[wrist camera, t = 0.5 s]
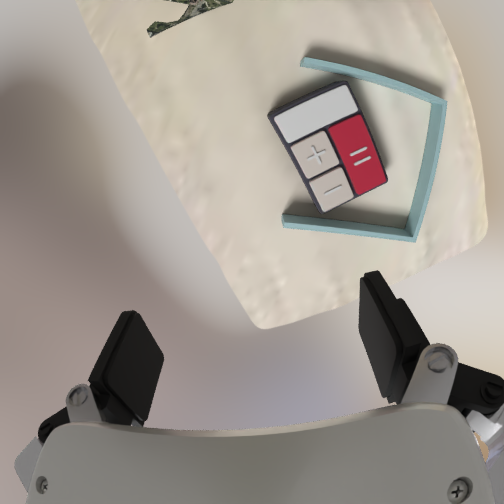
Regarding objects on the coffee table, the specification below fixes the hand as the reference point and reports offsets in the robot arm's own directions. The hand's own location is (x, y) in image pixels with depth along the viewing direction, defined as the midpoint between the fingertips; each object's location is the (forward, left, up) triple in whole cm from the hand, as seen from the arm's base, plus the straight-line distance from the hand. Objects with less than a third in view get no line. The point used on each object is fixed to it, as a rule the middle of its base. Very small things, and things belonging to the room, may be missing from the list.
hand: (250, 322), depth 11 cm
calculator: (-4, +10, -30) cm, 31 cm away
